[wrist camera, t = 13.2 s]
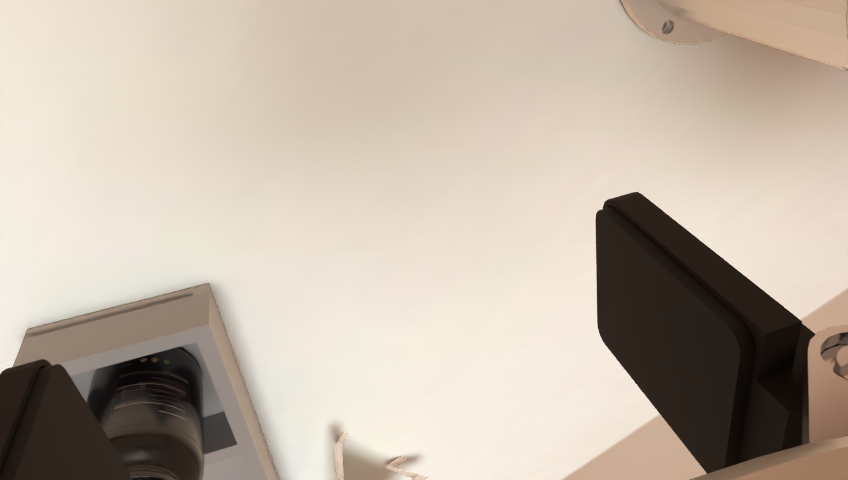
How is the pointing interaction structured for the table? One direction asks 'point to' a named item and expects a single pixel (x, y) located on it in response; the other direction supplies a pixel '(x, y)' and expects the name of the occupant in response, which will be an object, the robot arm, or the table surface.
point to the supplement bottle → (153, 414)
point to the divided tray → (158, 331)
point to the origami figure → (340, 472)
